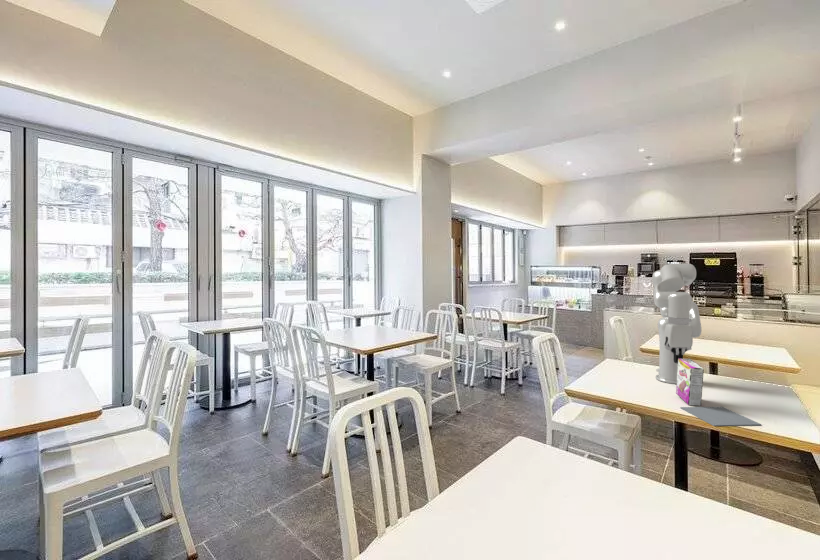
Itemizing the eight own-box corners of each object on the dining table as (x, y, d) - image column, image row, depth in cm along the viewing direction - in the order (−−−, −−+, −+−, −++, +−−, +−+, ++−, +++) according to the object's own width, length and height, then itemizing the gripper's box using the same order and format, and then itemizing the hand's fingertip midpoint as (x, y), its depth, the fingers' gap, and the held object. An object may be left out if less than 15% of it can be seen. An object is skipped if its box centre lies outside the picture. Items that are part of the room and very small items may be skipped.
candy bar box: (674, 393, 166) (677, 358, 164) (687, 394, 165) (690, 358, 163) (687, 405, 156) (690, 367, 153) (701, 406, 155) (704, 368, 152)
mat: (680, 408, 153) (680, 407, 153) (722, 407, 153) (722, 406, 153) (714, 426, 136) (714, 425, 136) (761, 425, 136) (761, 424, 136)
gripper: (689, 320, 169) (689, 361, 169) (655, 320, 169) (655, 361, 169) (702, 322, 161) (701, 365, 162) (667, 322, 161) (666, 365, 162)
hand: (678, 363), depth 165 cm, fingers closed
